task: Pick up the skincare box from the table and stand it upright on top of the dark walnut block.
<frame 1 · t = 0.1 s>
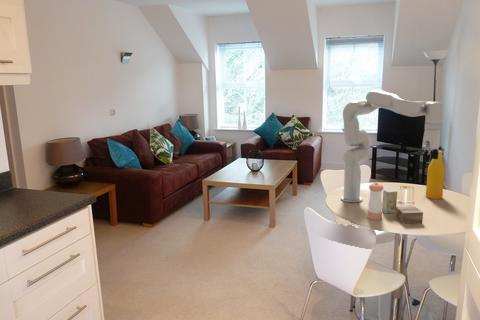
hand: (430, 160, 196), 31 cm above the table, tool pointing down, fingers open, 9 cm apart
skincare box: (388, 212, 214), on the table
walnut block: (408, 220, 201), on the table
pepper shaker: (374, 217, 206), on the table
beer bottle: (433, 197, 237), on the table
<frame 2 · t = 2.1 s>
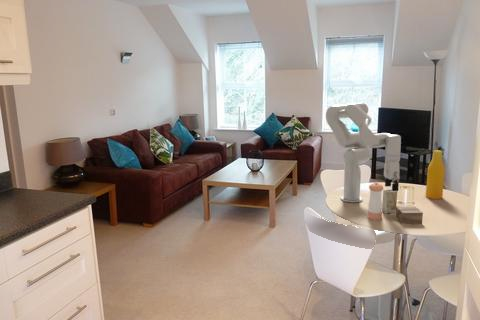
hand: (391, 188, 210), 14 cm above the table, tool pointing down, fingers open, 9 cm apart
nothing on the table moved.
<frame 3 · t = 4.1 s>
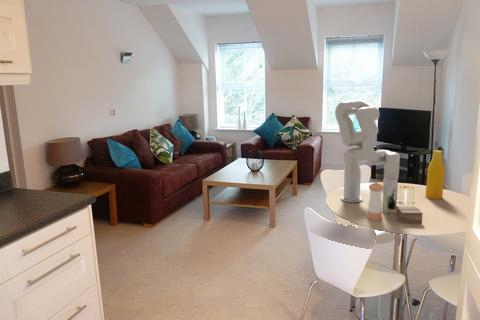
hand: (389, 206, 213), 3 cm above the table, tool pointing down, fingers closed on skincare box, 5 cm apart
skincare box: (389, 212, 214), on the table, touching gripper
everything else where it was.
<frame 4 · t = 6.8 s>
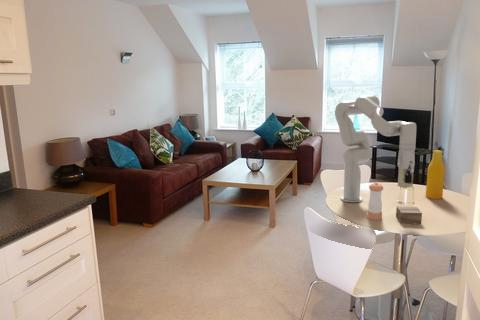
hand: (405, 180, 200), 20 cm above the table, tool pointing down, fingers closed on skincare box, 5 cm apart
skincare box: (405, 186, 201), point 17 cm above the table, touching gripper
everything else where it was.
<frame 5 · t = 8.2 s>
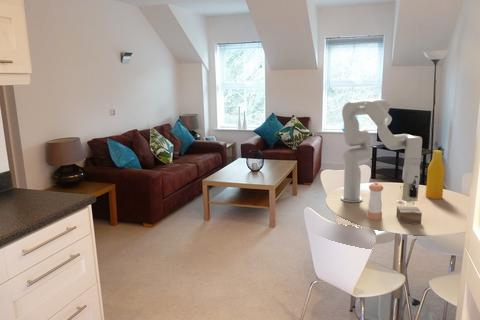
hand: (410, 195, 198), 14 cm above the table, tool pointing down, fingers closed on skincare box, 5 cm apart
skincare box: (409, 200, 199), point 10 cm above the table, touching gripper
everything else where it was.
when the fingers open (10 cm above the table, at t = 9.6 s): skincare box drops 1 cm, resting on walnut block.
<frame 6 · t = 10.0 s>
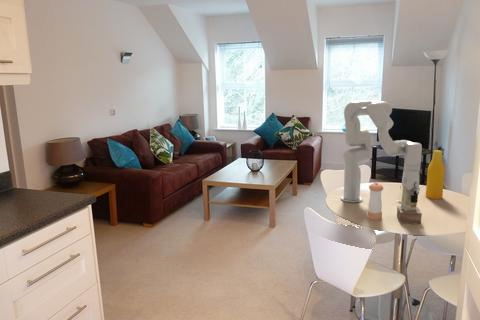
hand: (409, 199, 199), 11 cm above the table, tool pointing down, fingers open, 9 cm apart
skincare box: (408, 209, 200), point 6 cm above the table, touching walnut block
walnut block: (408, 220, 201), on the table, touching skincare box
everything else where it was.
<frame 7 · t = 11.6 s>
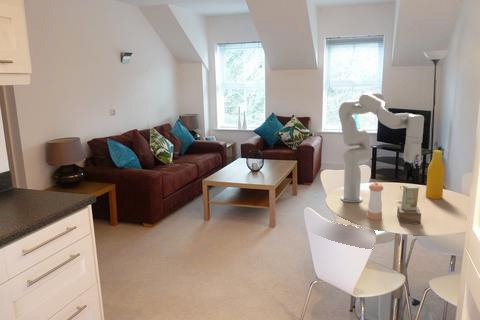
hand: (411, 173, 196), 25 cm above the table, tool pointing down, fingers open, 9 cm apart
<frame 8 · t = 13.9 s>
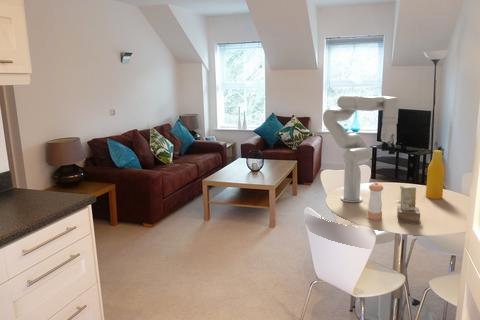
hand: (388, 152, 208), 33 cm above the table, tool pointing down, fingers open, 9 cm apart
at the end: skincare box 0.4 cm off-centre on the walnut block, point 6.1 cm above the walnut block's base; skincare box tilted 5°; the gripper is holding nothing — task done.
